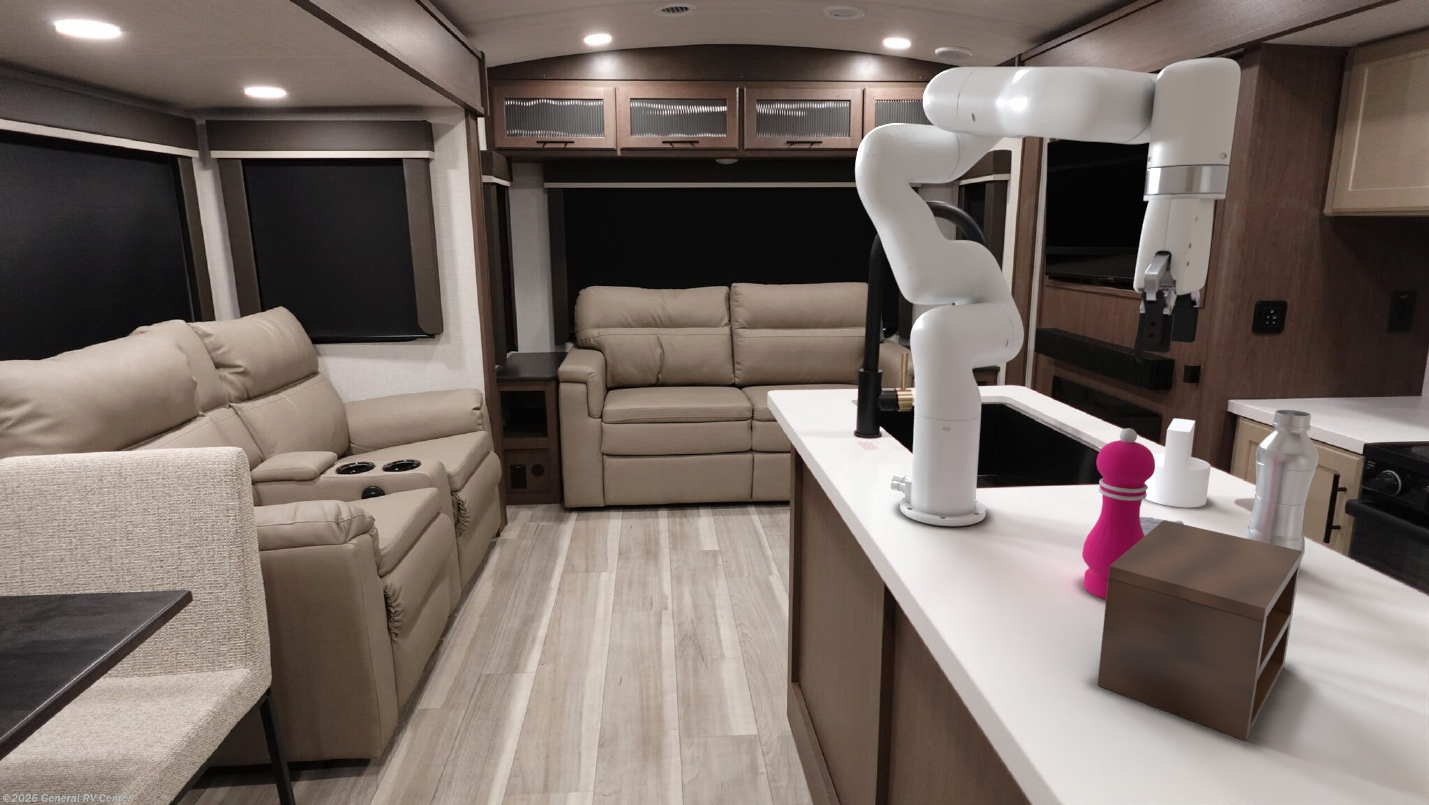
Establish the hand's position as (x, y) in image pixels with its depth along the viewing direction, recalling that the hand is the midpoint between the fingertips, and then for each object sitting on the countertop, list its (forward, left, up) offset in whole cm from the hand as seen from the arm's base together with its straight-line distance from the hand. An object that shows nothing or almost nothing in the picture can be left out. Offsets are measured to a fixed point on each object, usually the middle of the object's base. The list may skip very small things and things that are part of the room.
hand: (1166, 346), depth 86 cm
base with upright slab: (-7, +39, -30) cm, 50 cm away
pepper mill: (-2, -2, -30) cm, 30 cm away
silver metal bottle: (+10, +19, -30) cm, 37 cm away
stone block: (-2, +12, -30) cm, 32 cm away
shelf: (+10, -15, -30) cm, 35 cm away
